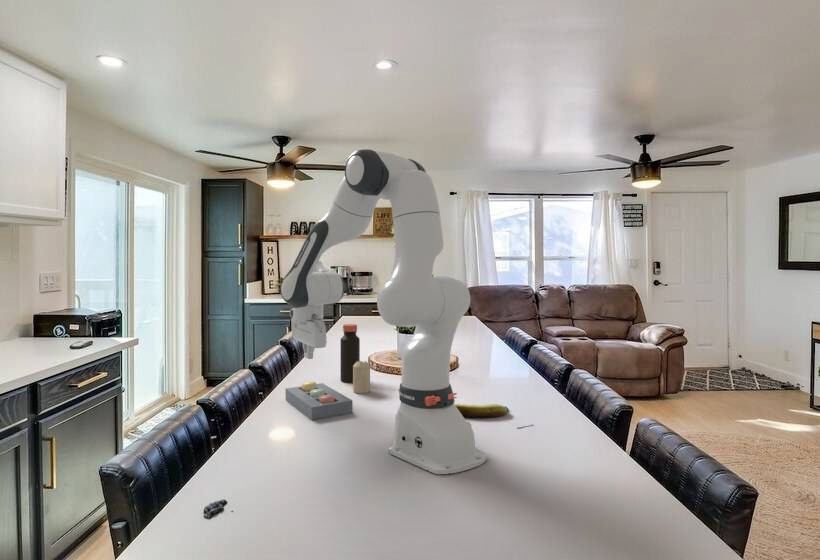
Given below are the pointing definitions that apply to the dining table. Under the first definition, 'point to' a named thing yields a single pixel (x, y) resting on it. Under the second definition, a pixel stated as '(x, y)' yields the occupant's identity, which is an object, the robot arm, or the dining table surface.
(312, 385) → the mustard button
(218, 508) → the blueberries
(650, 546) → the dining table surface
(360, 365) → the candle
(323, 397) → the brick button
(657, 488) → the dining table surface
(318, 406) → the button panel
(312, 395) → the sage button
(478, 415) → the green and grey pieces
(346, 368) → the bottle
